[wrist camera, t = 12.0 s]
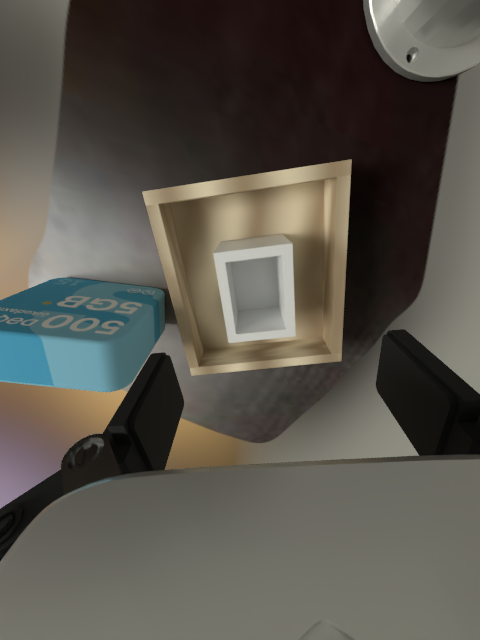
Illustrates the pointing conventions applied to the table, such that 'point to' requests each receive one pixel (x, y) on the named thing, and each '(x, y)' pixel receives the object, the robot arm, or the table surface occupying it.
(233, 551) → the robot arm
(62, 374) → the data package
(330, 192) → the wooden tray
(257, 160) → the table surface
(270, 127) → the table surface
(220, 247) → the white open box
